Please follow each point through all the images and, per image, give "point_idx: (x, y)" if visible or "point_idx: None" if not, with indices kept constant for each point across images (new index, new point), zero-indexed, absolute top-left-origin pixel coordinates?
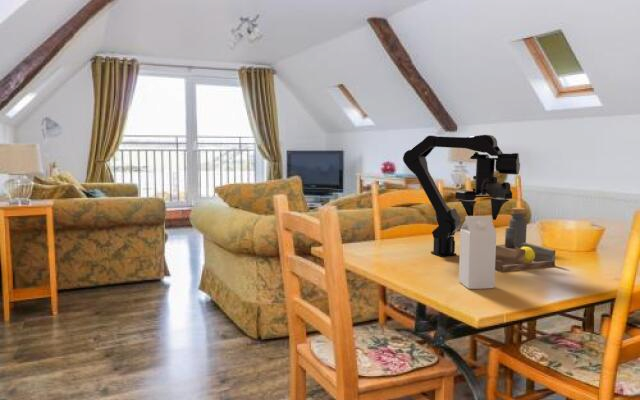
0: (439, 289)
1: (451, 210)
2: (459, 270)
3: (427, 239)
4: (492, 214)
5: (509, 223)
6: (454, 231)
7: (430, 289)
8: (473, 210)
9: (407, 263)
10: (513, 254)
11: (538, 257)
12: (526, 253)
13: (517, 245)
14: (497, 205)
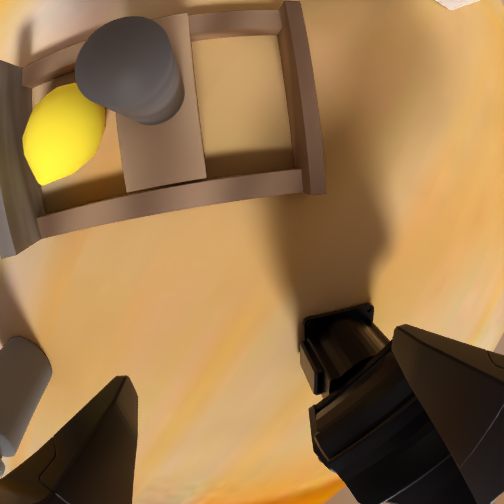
0: (485, 8)
1: (445, 454)
2: (470, 1)
3: (258, 483)
4: (133, 439)
5: (19, 441)
6: (377, 364)
7: (496, 18)
8: (478, 366)
9: (482, 234)
10: (189, 30)
11: (21, 134)
12: (78, 88)
13: (23, 352)
14: (68, 501)
